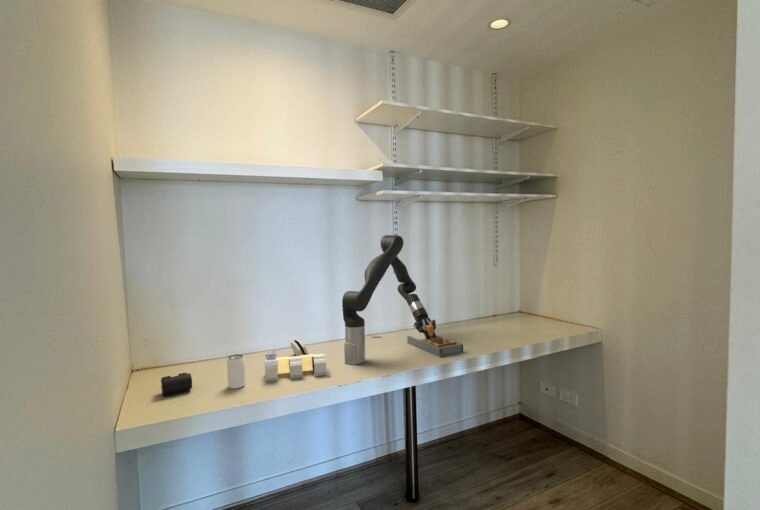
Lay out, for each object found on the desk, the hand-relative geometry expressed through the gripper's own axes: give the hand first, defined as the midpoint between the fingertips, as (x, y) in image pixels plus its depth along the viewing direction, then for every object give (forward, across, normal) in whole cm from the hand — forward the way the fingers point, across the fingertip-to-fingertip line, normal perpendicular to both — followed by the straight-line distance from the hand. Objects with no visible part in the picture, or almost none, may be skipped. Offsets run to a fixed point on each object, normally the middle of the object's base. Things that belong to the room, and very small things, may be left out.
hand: (431, 337), depth 206 cm
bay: (+5, 0, +2) cm, 5 cm away
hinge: (-10, -65, +17) cm, 68 cm away
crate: (+6, 0, -1) cm, 6 cm away
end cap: (+3, -119, +4) cm, 120 cm away
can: (+6, -98, +1) cm, 98 cm away
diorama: (+6, -74, +1) cm, 74 cm away
